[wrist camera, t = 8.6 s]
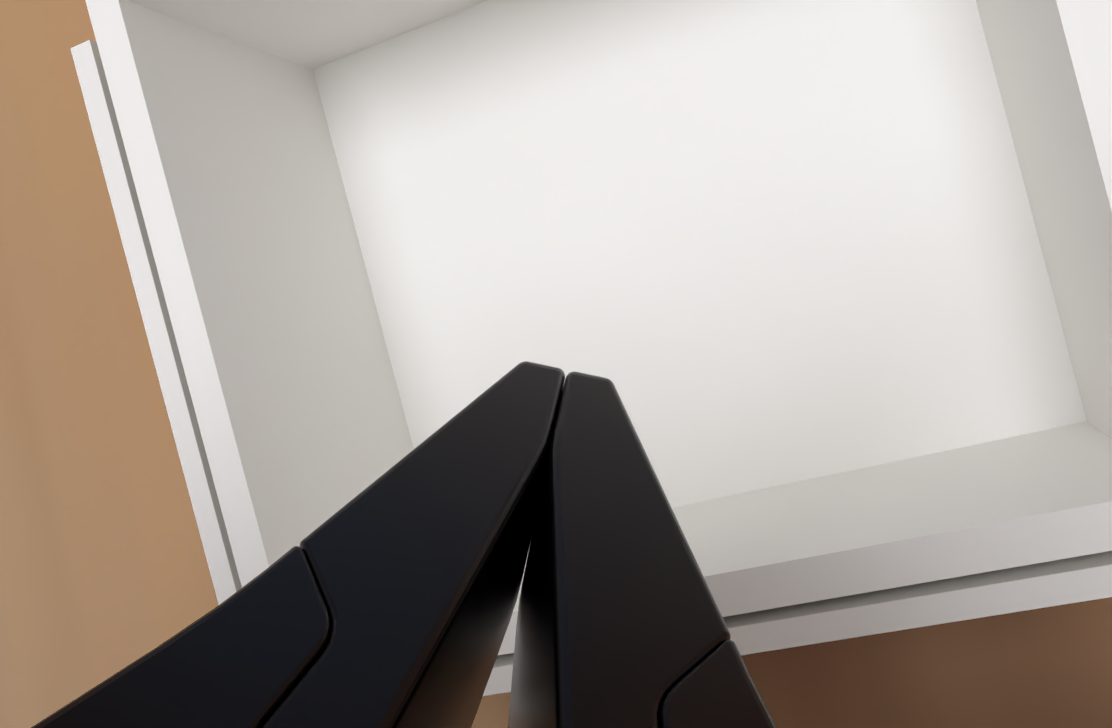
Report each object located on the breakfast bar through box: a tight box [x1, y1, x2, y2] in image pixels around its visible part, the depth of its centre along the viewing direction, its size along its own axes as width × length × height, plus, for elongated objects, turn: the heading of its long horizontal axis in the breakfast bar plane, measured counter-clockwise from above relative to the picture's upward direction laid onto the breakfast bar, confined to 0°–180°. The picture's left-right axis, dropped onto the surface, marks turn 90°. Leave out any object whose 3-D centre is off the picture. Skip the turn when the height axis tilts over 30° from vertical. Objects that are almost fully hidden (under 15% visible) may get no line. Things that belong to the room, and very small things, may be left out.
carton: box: [71, 0, 1112, 696], centre depth 17 cm, size 13×15×6 cm
